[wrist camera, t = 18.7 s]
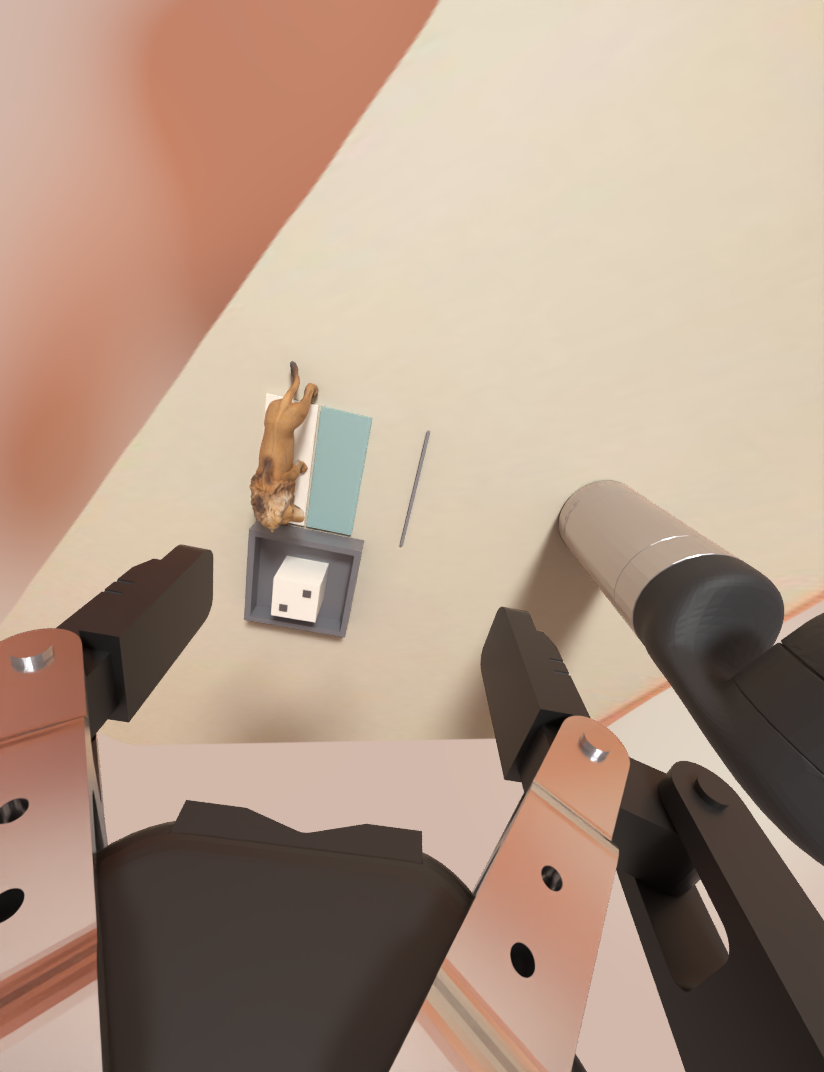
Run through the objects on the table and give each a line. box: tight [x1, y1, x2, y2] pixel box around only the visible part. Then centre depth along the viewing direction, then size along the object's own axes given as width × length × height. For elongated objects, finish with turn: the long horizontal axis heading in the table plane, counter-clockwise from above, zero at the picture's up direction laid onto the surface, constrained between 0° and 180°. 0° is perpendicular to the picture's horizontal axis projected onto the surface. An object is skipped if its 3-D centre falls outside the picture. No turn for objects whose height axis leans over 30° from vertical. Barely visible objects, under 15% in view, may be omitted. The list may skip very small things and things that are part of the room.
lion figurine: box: [250, 361, 318, 532], centre depth 38 cm, size 15×5×9 cm, turn 174°
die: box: [271, 556, 329, 622], centre depth 46 cm, size 5×5×5 cm
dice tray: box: [244, 521, 364, 637], centre depth 48 cm, size 12×12×3 cm
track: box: [264, 394, 430, 546], centre depth 44 cm, size 17×14×1 cm
